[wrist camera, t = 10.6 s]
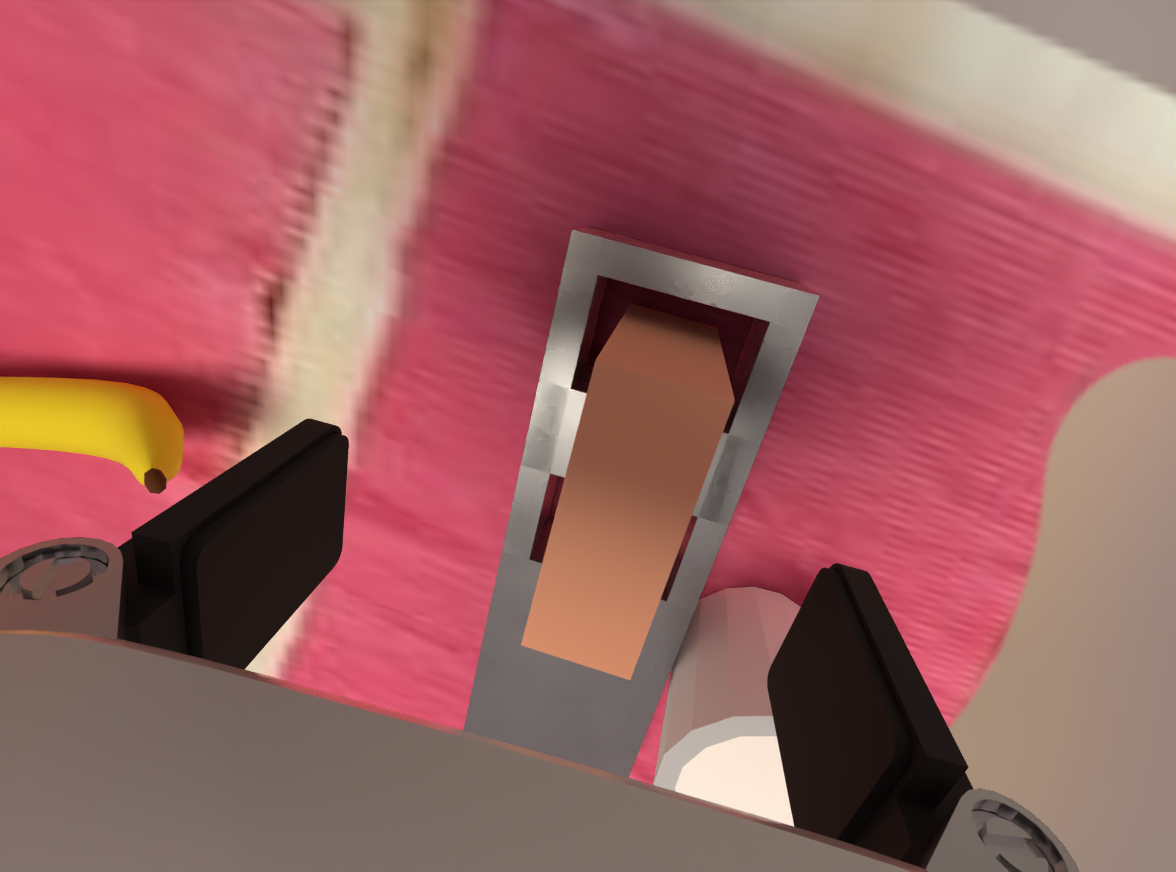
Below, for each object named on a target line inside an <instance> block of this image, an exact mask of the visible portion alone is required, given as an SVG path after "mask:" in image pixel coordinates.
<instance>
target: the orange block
mask: <svg viewBox="0 0 1176 872" xmlns="http://www.w3.org/2000/svg"><path fill="white" fill-rule="evenodd" d="M734 401H735V399H734V395H733V391H732V387H731V383H730V379H729V375H728V371H727V367H726V363H725V358H724V354H723V350H722V346H721V342H720V338H719V334H718V330H717V328H716V327H712V326H708V325H705V324H701V323H698V322H694V321H691V320H687V319H684V318H680V317H677V316H673V315H669V314H666V313H662V312H659V311H655V310H652V309H648V308H645V307H641V306H638V305H634V304H630V306H629V307H628V309H627V311H626V312H625V314H624V315H623V317H622V319H621V320H620V322H619V323H618V325H617V327H616V328H615V330H614V331H613V333H612V335H611V336H610V338H609V339H608V341H607V343H606V344H605V346H604V347H603V349H602V351H601V352H600V354H599V355H598V357H597V359H596V360H595V364H594V368H593V372H592V376H591V379H590V383H589V387H588V391H587V395H586V399H585V402H584V406H583V410H582V414H581V418H580V421H579V425H578V429H577V433H576V437H575V441H574V444H573V448H572V452H571V456H570V460H569V463H568V467H567V471H566V475H565V479H564V483H563V486H562V490H561V494H560V498H559V502H558V505H557V509H556V513H555V517H554V521H553V525H552V528H551V532H550V536H549V540H548V544H547V547H546V551H545V555H544V559H543V563H542V567H541V570H540V574H539V578H538V582H537V586H536V589H535V593H534V597H533V601H532V605H531V609H530V612H529V616H528V620H527V624H526V628H525V631H524V635H523V639H522V643H521V645H522V646H525V647H528V648H531V649H534V650H537V651H540V652H543V653H547V654H550V655H553V656H556V657H559V658H562V659H565V660H568V661H571V662H575V663H578V664H581V665H584V666H587V667H590V668H593V669H596V670H600V671H603V672H606V673H609V674H612V675H615V676H618V677H621V678H624V679H628V680H631V677H632V674H633V672H634V669H635V666H636V664H637V661H638V658H639V655H640V653H641V650H642V647H643V645H644V642H645V639H646V637H647V634H648V631H649V629H650V626H651V623H652V621H653V618H654V615H655V613H656V610H657V607H658V605H659V602H660V599H661V597H662V594H663V591H664V589H665V586H666V583H667V580H668V578H669V575H670V572H671V570H672V567H673V564H674V562H675V559H676V556H677V554H678V551H679V548H680V546H681V543H682V540H683V538H684V535H685V532H686V530H687V527H688V524H689V522H690V519H691V516H692V514H693V511H694V508H695V506H696V503H697V500H698V497H699V495H700V492H701V489H702V487H703V484H704V481H705V479H706V476H707V473H708V471H709V468H710V465H711V463H712V460H713V457H714V455H715V452H716V449H717V447H718V444H719V441H720V439H721V436H722V433H723V431H724V428H725V425H726V423H727V420H728V417H729V414H730V412H731V409H732V406H733V404H734Z"/></svg>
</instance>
